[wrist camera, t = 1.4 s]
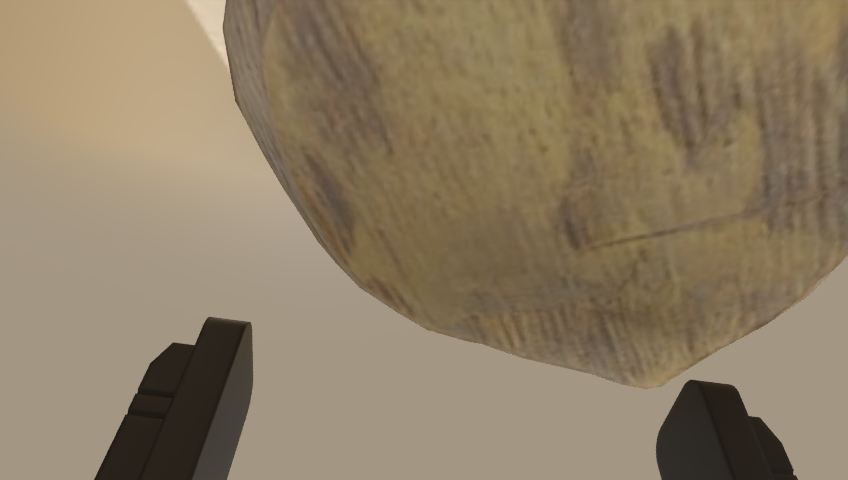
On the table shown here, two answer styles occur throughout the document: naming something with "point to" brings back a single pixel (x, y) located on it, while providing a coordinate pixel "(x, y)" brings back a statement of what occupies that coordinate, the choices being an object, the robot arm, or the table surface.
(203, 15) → the table surface
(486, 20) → the tankard
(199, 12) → the table surface
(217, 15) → the table surface
